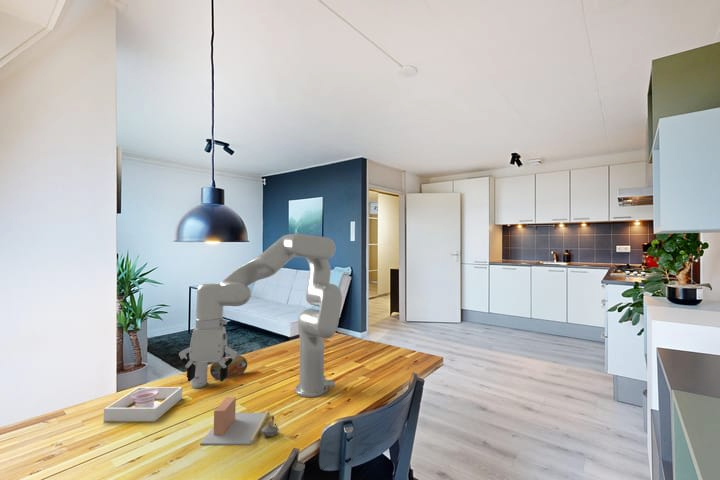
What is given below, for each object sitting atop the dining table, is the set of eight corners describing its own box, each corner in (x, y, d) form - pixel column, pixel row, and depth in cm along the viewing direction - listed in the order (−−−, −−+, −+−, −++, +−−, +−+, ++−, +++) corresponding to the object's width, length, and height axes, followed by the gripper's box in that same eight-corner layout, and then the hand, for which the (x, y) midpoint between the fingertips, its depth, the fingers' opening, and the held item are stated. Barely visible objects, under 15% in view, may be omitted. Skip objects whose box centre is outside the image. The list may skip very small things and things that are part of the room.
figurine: (261, 440, 92) (264, 418, 93) (259, 433, 96) (262, 412, 97) (279, 439, 94) (282, 417, 95) (276, 432, 98) (280, 411, 99)
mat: (268, 414, 107) (268, 410, 108) (252, 444, 90) (252, 440, 91) (224, 414, 107) (224, 410, 107) (200, 444, 90) (200, 440, 90)
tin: (210, 381, 134) (210, 360, 135) (209, 378, 137) (209, 358, 137) (247, 374, 142) (247, 354, 143) (245, 371, 145) (246, 353, 145)
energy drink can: (187, 387, 128) (188, 349, 129) (200, 381, 134) (201, 345, 134) (196, 390, 125) (197, 351, 126) (210, 384, 131) (211, 347, 131)
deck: (235, 419, 103) (235, 397, 104) (223, 435, 94) (224, 411, 95) (225, 419, 103) (226, 397, 104) (213, 435, 94) (214, 410, 95)
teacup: (171, 409, 111) (171, 391, 111) (131, 424, 101) (132, 404, 101) (154, 400, 117) (155, 382, 117) (115, 413, 107) (116, 395, 107)
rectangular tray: (182, 398, 119) (182, 387, 119) (154, 421, 102) (155, 408, 103) (137, 398, 118) (138, 387, 118) (103, 421, 102) (103, 408, 102)
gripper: (241, 321, 104) (239, 375, 103) (187, 321, 103) (184, 375, 102) (233, 326, 96) (231, 384, 96) (174, 326, 96) (171, 384, 95)
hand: (207, 379), depth 99 cm, fingers open, 9 cm apart
